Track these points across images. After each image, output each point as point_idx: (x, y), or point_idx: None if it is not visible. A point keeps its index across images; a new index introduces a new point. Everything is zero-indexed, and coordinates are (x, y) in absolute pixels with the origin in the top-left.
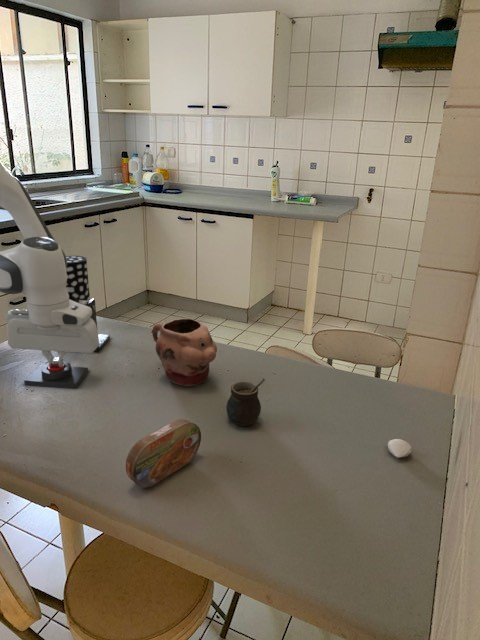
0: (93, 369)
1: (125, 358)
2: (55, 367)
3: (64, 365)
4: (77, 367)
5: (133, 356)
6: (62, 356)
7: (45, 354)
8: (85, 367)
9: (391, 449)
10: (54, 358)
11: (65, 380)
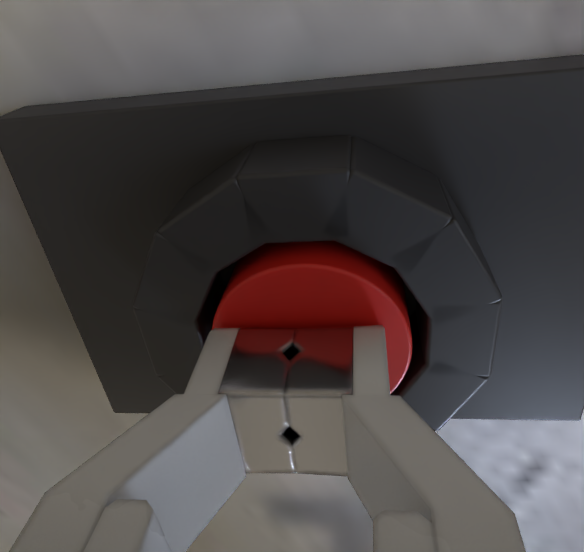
0: (122, 413)
1: None
2: (298, 324)
3: None
4: None
5: (11, 543)
6: (89, 469)
7: (434, 502)
8: (132, 411)
9: None
10: (321, 451)
11: (140, 172)
